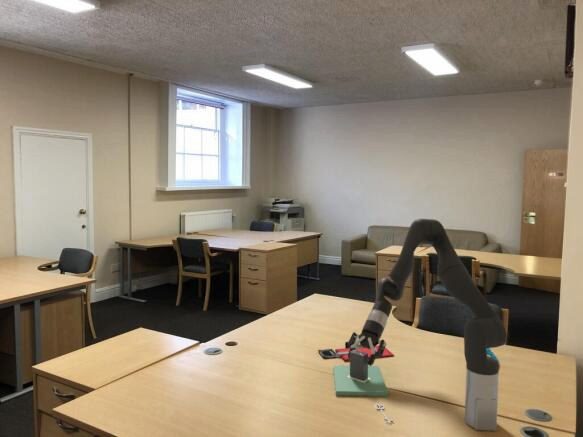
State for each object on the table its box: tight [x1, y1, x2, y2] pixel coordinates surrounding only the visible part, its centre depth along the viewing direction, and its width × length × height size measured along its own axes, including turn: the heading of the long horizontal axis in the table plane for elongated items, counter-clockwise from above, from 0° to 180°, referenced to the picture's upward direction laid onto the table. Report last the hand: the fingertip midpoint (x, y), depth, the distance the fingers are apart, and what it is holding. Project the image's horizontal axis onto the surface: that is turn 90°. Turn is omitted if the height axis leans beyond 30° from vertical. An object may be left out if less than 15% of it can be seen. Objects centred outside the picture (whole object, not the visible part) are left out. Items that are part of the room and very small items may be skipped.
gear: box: [486, 348, 499, 361], centre depth 190 cm, size 11×6×10 cm
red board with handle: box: [317, 341, 395, 362], centre depth 197 cm, size 30×3×15 cm
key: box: [374, 403, 391, 424], centre depth 146 cm, size 12×1×3 cm
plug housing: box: [349, 350, 369, 381], centre depth 169 cm, size 3×6×10 cm, turn 49°
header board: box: [332, 364, 389, 397], centre depth 169 cm, size 22×18×4 cm
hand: (359, 361), depth 168 cm, fingers open, 8 cm apart
